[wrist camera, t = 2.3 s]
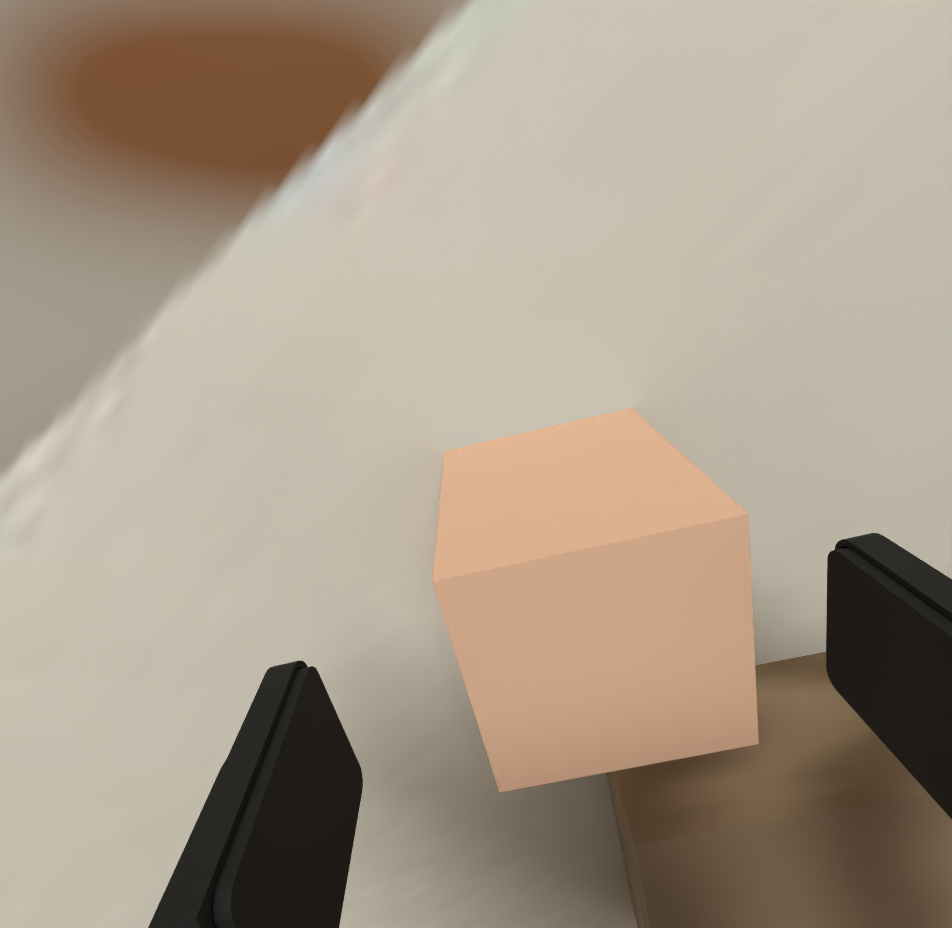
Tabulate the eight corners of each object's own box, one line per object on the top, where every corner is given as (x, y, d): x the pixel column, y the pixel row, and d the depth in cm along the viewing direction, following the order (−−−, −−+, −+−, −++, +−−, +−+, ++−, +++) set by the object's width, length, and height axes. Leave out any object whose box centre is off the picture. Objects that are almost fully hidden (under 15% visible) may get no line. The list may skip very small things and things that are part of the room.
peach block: (630, 407, 14) (748, 514, 8) (651, 567, 15) (758, 744, 10) (444, 450, 14) (432, 581, 8) (486, 602, 16) (499, 792, 10)
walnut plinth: (1024, 603, 17) (1242, 738, 12) (978, 845, 21) (1124, 1011, 16) (589, 689, 17) (635, 845, 13) (632, 903, 22) (677, 1078, 17)
